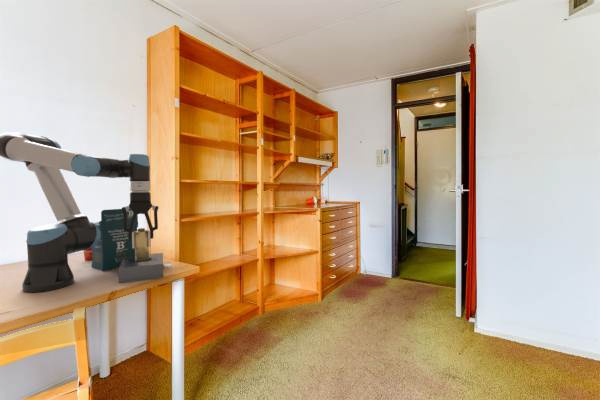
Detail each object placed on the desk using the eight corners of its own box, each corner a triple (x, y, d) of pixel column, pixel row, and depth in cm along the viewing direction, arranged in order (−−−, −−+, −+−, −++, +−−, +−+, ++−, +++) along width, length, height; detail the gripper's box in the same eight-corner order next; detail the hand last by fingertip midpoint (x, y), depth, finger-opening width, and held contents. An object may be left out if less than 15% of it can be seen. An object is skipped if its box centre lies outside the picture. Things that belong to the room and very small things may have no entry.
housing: (118, 283, 116) (118, 268, 115) (125, 268, 136) (124, 256, 135) (163, 277, 123) (162, 263, 122) (163, 265, 142) (162, 252, 142)
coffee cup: (78, 260, 150) (77, 231, 150) (93, 256, 158) (92, 229, 157) (90, 261, 148) (89, 232, 147) (105, 257, 156) (104, 230, 155)
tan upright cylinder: (134, 261, 118) (133, 229, 118) (135, 258, 123) (134, 228, 122) (148, 260, 121) (147, 229, 120) (149, 257, 125) (148, 227, 125)
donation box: (102, 271, 131) (101, 210, 130) (87, 266, 140) (85, 208, 139) (139, 263, 145) (137, 207, 143) (123, 259, 154) (121, 206, 152)
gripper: (113, 192, 113) (114, 250, 114) (164, 191, 121) (165, 246, 122) (115, 191, 120) (117, 247, 121) (164, 191, 128) (165, 243, 129)
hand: (141, 246), depth 122 cm, fingers closed on tan upright cylinder, 5 cm apart
